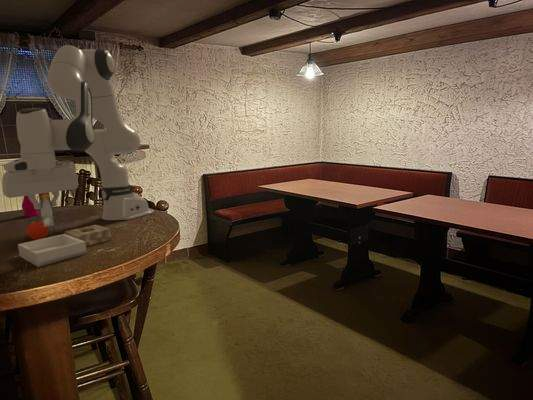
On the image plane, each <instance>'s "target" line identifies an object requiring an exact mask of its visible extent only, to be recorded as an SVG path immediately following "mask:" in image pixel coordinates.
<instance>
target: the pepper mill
mask: <svg viewBox="0 0 533 400" xmlns="http://www.w3.org/2000/svg"><path fill="white" fill-rule="evenodd" d="M34 199H35V200H36V202H37V203H39V200H37V197H36V198H34ZM21 209H22V210H23V211H24V213H23V216H24V217H25V218H33V217H36V216H37V217H38V216H40V211H39V209H35V208H34V203H32V202H31V200H30V199H29V198H28V196H23V199H22V203H21Z"/></svg>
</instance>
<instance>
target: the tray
mask: <svg viewBox="0 0 533 400" xmlns="http://www.w3.org/2000/svg"><path fill="white" fill-rule="evenodd" d="M17 248H18V254H19V257H20V258H22V259H24V260H25V261H27V262H29V263H31V264H32V265H34V266H35V267H38V268H39V267H40V268H41V267H42V266H47V265H50V264H53V263H58V262H61V261H64V260H68V259H69V260H70V259H73V258H77V257H80V256H84V255H87V254H88V252H87V251H88V250H87V246H86V244H85V241H82V240H80V239H77V238H74V237H71V236H69V235H66V234H65V233H62V234H59V235H53V236H49V237H45V238H43V239H39V240H31V241H28V242H22V243H17Z"/></svg>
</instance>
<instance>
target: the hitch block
mask: <svg viewBox="0 0 533 400" xmlns="http://www.w3.org/2000/svg"><path fill="white" fill-rule="evenodd" d="M64 234H66V235H69V236H71V237H74V238H77V239H80V240H82V241H85V244H86V247H88V246H92V245H97V244H100V243H105V242H108V241H111V240H112V236H111V235H112V233H111V228H109V227H105V226H101V225H99V224H93V225H92V224H91V225H89V226H84V227H80V228H74V229H71V230H70V229H69V230H66V231H64Z"/></svg>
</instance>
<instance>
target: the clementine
mask: <svg viewBox="0 0 533 400" xmlns="http://www.w3.org/2000/svg"><path fill="white" fill-rule="evenodd" d="M49 227H50V226H43V223H42V220H33V221H30V222H28V223H27V224H26V233H27V236H28V237H30V239H32V240H33V241H35V240H39V239H44V238H47V236H48V235H49V232H50V228H49Z"/></svg>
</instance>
